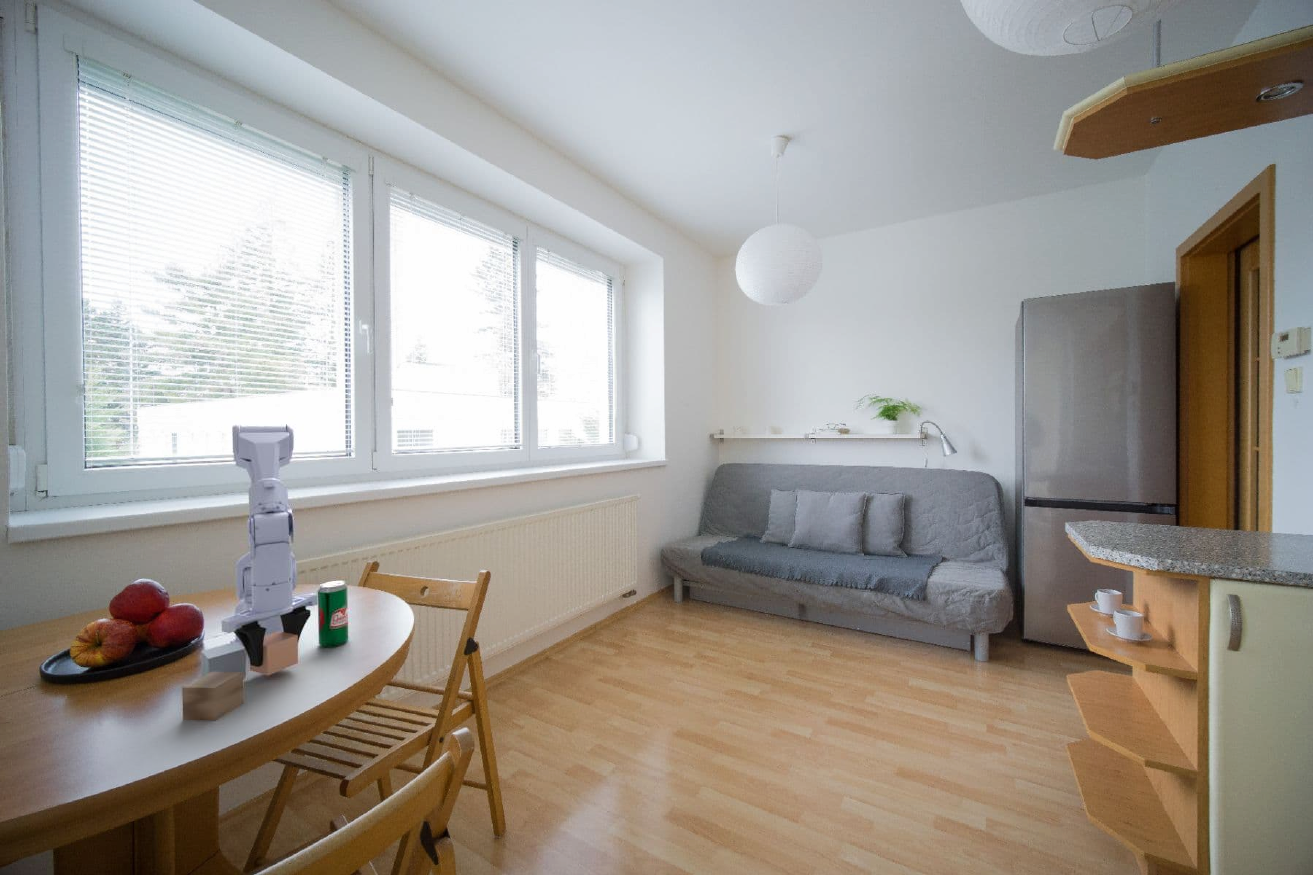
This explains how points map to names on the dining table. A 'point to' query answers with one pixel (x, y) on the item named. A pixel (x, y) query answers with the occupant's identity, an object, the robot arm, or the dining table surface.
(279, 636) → the terracotta block
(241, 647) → the slate blue block
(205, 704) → the walnut block
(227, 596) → the dining table surface
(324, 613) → the soda can
